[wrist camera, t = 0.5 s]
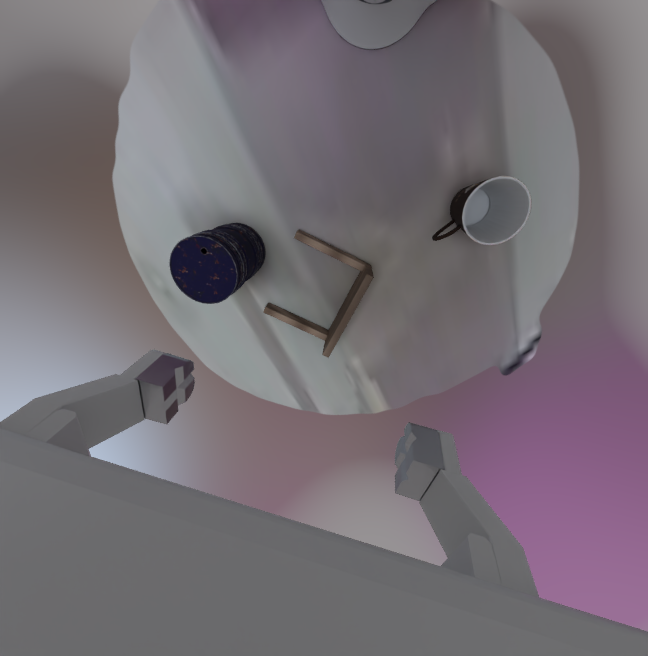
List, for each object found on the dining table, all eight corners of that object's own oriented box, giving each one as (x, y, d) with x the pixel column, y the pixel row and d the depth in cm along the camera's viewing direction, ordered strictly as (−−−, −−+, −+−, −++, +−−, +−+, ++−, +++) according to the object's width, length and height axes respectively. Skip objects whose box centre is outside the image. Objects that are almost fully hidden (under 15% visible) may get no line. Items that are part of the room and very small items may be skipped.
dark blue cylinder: (262, 281, 59) (235, 311, 45) (212, 270, 59) (169, 297, 45) (268, 228, 54) (240, 243, 41) (214, 216, 54) (167, 227, 41)
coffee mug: (502, 174, 48) (537, 172, 39) (494, 232, 51) (524, 242, 42) (425, 182, 49) (441, 181, 40) (422, 237, 53) (437, 248, 44)
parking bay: (266, 307, 61) (254, 324, 53) (299, 229, 54) (290, 236, 47) (331, 337, 62) (328, 357, 55) (371, 265, 55) (373, 277, 48)
